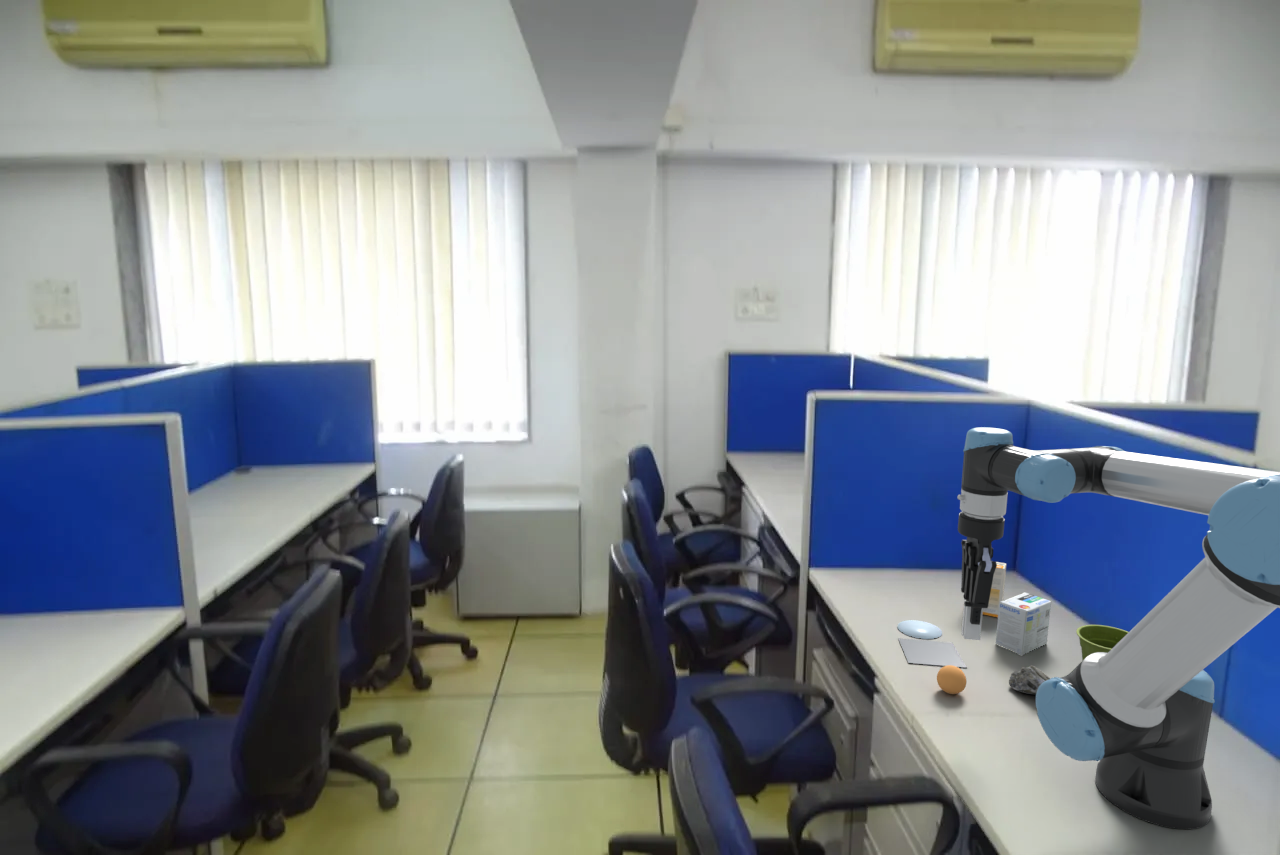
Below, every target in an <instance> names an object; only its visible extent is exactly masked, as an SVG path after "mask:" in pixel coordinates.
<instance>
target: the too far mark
mask: <svg viewBox="0 0 1280 855" xmlns="http://www.w3.org/2000/svg"><path fill="white" fill-rule="evenodd" d="M897 630H899V632H901V633H902V632H903V633H902V634H904V635H906V636H909V637H911V636H912V637H911V638H914V637H915V638H914V639H919V638H921V639H920V640H935V639H934V638H936V639H938V637H939V638H940V637H942V635H943V631H942V629H941V628H940V627H939V626H937V625H935V624H934V623H931V622H927V621H924V620H917V619H912V620H911V619H910V620H909V619H908V620H903V621H900V622H898V624H897Z"/></svg>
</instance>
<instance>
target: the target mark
mask: <svg viewBox="0 0 1280 855" xmlns="http://www.w3.org/2000/svg"><path fill="white" fill-rule="evenodd" d="M898 639H899V640H898V642H899V644H901V645H900V647H901V646H902V647H901V649H902V651H904V652H903V654H904V656H906V657H905V659H906V658H907V659H906V661H907V664H908V663H913V664H912V665H919V664H923V665H922V666H932V665H933V667H944V666H947V665H952V666H956V667H961V668H960V669H967V668H968V667H967V665H966V664H965V661H964V660H963V658H962V656H961V655H960V653H959V651H958V649H957V648H956V646H955V645H954V642H951V641H940V640H930V639H917V638H911V639H910V638H904V637H903V638H902V637H900V638H899V637H898Z"/></svg>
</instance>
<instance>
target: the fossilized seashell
mask: <svg viewBox="0 0 1280 855" xmlns="http://www.w3.org/2000/svg"><path fill="white" fill-rule="evenodd" d="M1051 678H1052V677H1051ZM1051 678H1050V677H1049V676H1048V675H1047V674H1046V673H1044V672H1043V671H1042V670H1040V669H1039V668H1037V667H1036V666H1035V665H1030V666H1025V667H1021V669H1020V670H1015V671H1014V670H1013V671H1012V673H1011V674H1010V676H1009V679H1008V685H1009V687H1011V688H1012V689H1013V690H1015V691H1017V692H1019V693H1020V692H1021V693H1024V694H1028V695H1033V696H1036V693H1037V690H1038V688H1039V686H1040V685H1041V684H1042V683H1043V682H1044V681H1046V680H1049V679H1051Z"/></svg>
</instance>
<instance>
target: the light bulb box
mask: <svg viewBox="0 0 1280 855" xmlns="http://www.w3.org/2000/svg"><path fill="white" fill-rule="evenodd" d="M1051 608H1052V601H1051V600H1049V599H1046V598H1043V597H1041V596H1037V595H1034V594H1031V593H1028V592H1025V591H1024V592H1021V593H1019V594H1017V595H1015V596H1012V597H1009V598H1006V599H1004V600H1003V601H1000V602H999V611H998V617H997V621H996V622H997V624H996V632H995V633H996V635H995V636H996V637H995V643H996V644H998V645H1000V646H1003V647H1005V648H1007V649H1010V650H1012V651H1014V652H1016V653H1018V654H1017V655H1019V654H1020V655H1019V656H1021V655H1022V656H1024V655H1026V654H1028V653H1030V652H1029V651H1031V652H1032V650H1033V651H1035V650H1037V649H1039V648H1041V647H1040V646H1042V647H1044V646H1045V644H1046V645H1047V644H1048V636H1049V626H1050V617H1051ZM1043 645H1044V646H1043ZM1000 646H999V647H1000ZM1038 647H1039V648H1038ZM1036 648H1037V649H1036ZM1007 649H1006V650H1007ZM1034 649H1035V650H1034ZM1014 652H1013V653H1014ZM1027 652H1028V653H1027ZM1016 653H1015V654H1016ZM1025 653H1026V654H1025ZM1023 654H1024V655H1023Z"/></svg>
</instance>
